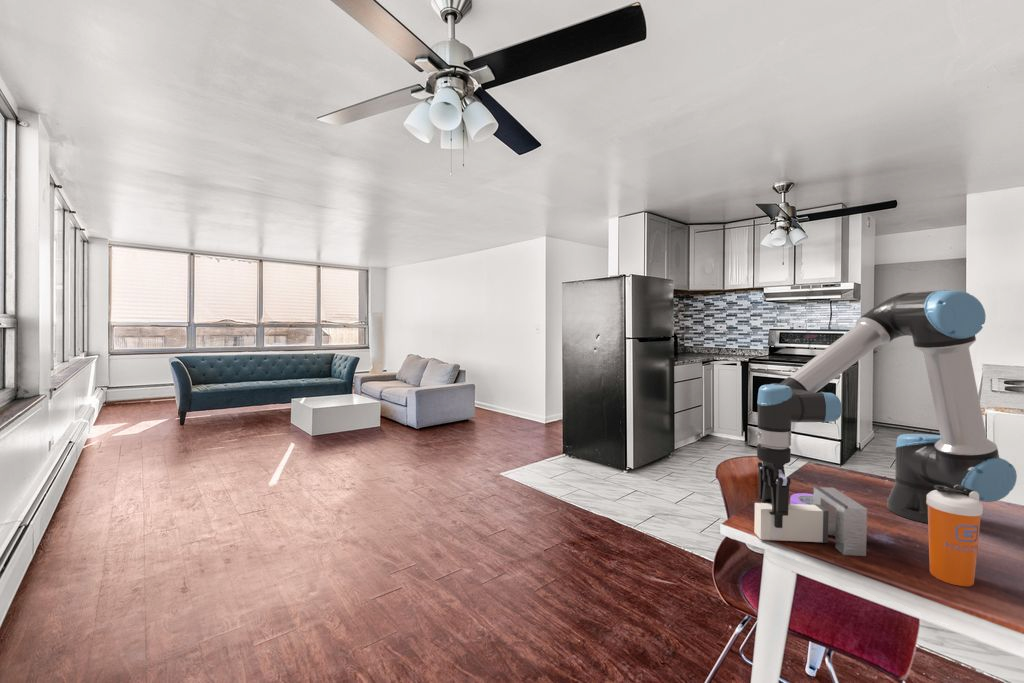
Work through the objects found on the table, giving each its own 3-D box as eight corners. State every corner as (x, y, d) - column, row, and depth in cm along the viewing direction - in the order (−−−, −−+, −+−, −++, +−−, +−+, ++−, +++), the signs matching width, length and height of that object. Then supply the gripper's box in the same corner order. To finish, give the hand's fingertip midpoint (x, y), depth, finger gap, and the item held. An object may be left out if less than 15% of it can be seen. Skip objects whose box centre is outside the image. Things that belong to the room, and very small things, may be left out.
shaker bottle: (913, 567, 105) (915, 481, 104) (949, 565, 106) (951, 479, 105) (953, 590, 96) (956, 496, 95) (992, 588, 97) (996, 494, 96)
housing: (832, 529, 125) (833, 485, 124) (866, 556, 110) (867, 506, 110) (812, 528, 125) (813, 484, 125) (844, 555, 111) (845, 506, 110)
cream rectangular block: (819, 535, 120) (819, 504, 120) (827, 542, 116) (828, 511, 116) (754, 532, 122) (754, 502, 122) (760, 539, 118) (761, 508, 118)
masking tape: (846, 516, 133) (846, 503, 133) (822, 525, 128) (822, 511, 127) (805, 502, 143) (805, 490, 143) (781, 510, 138) (781, 497, 138)
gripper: (745, 436, 127) (744, 519, 129) (772, 454, 111) (771, 549, 112) (774, 437, 127) (773, 520, 128) (806, 455, 110) (804, 551, 111)
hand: (772, 534), depth 120 cm, fingers closed on cream rectangular block, 4 cm apart
